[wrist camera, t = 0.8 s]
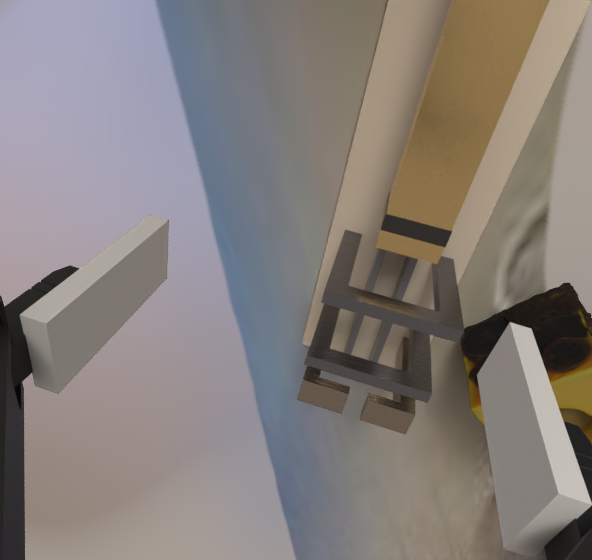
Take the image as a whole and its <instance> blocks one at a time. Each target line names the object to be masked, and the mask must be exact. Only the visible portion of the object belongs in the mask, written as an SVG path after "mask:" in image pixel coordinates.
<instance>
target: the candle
mask: <svg viewBox="0 0 592 560" xmlns="http://www.w3.org/2000/svg"><path fill="white" fill-rule="evenodd" d="M590 317H591V314H590V313H587V312H586V310H585V308H584V307H583V305H582V304H581V302H580V301H579V299H578V295H577V293H576V291H575V290H574V288H573V286H571V285H570V283H563V284H562V285H561V286H560V287H558V288H553V289H550V290H548V291H547V292H545V293H543V294H539V295H535V296H534V297H532V298H530V299H528V300H526V301H524V302H521V303H518V304H516V305H514V306H513V307H511V308H509V309H508V310H503V311H502V312H500V313H498V314H495V315H493V316H492V317H490V318H488V319H486V320H484V321H483V322H480V323H478V324H476V325H472V326H469V327H467V328H466V329H465V330H464V333H463V335H462V339H463V340H462V342H461V345H462V351H463V352H464V353H463V358H464V362H465V367H466V372H467V380H468V382H469V383H470V385H469V387H468V389H469V394H470V408H471V410H472V412H473V413H474V414H475V416H476V417H477V418H478V420H479V421H480V422H481V423H482V424H483V426H484V427H485V424H484V417H483V411H482V404H481V398H480V391H479V385H478V378H477V374H478V373H479V371H480V369H481V368H482V366H483V365H484V363H485V361H486V360H487V358H488V357H489V355H490V353H491V352H492V350H493V348H494V347H495V345H496V344H497V342H498V340H499V339H500V337H501V336H502V334H503V332H504V331H505V329H506V328H507V326H508V324H509V323H510V322H511V323H514V324H518V325H521V326H524V327H528V328H531V329H532V332H533V335H534V338H535V340H536V343H537V346H538V349H539V352H540V355H541V358H542V361H543V364H544V366H545V369H546V372H547V375H548V378H549V381H550V384H551V387H552V390H553V393H554V395H555V398H556V401H557V404H558V407H559V410H560V413H561V416H562V419H563V421H565V422H569V423H572V424H575V425H578V426H579V427H580V429H581V430H582V431H583V432H584V434H585V435H586V436H587V438H588V439H589V440H590V442H591V444H592V318H590Z"/></svg>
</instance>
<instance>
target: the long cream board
mask: <svg viewBox="0 0 592 560" xmlns="http://www.w3.org/2000/svg"><path fill="white" fill-rule="evenodd" d="M450 2H451V0H388V4H387V8H386V12H385V16H384V20H383V24H382V28H381V32H380V36H379V40H378V44H377V48H376V52H375V55H374V59H373V63H372V67H371V71H370V75H369V79H368V83H367V87H366V91H365V95H364V99H363V103H362V107H361V111H360V115H359V119H358V123H357V127H356V131H355V135H354V139H353V143H352V147H351V150H350V154H349V158H348V162H347V166H346V170H345V174H344V178H343V182H342V186H341V190H340V194H339V198H338V202H337V206H336V210H335V214H334V218H333V222H332V226H331V230H330V234H329V238H328V242H327V245H326V249H325V253H324V257H323V261H322V265H321V269H320V273H319V277H318V281H317V285H316V289H315V293H314V297H313V301H312V305H311V309H310V313H309V317H308V321H307V325H306V329H305V333H304V337H303V341H302V344H303V345H306V346H309V347H310V345H311V342H312V339H313V336H314V333H315V330H316V326H317V323H318V320H319V317H320V314H321V311H322V308H323V305H324V303H321V301H322V297H323V293H324V290H325V287H326V284H327V281H328V278H329V275H330V273H331V270H332V267H333V264H334V261H335V258H336V255H337V252H338V249H339V246H340V244H341V241H342V238H343V235H344V232H345V230H349V231H352V232H356V233H360V234H362V236H361V240H360V244H359V248H358V252H357V255H356V259H355V263H354V267H353V271H352V275H351V279H350V282H349V286H352V287H355V288H359V289H362V290H366V291H369V292H372V293H376V294H379V295H383V296H386V297H390V298H393V299H397V300H400V301H404V302H407V303H411V304H414V305H418V306H421V307H425V308H428V309H432V310H434V292H433V274H432V263H430V262H427V261H423V260H420V259H416V258H412V257H409V256H405V255H401V254H398V253H394V252H391V251H387V250H383V249H380V248H376V241H377V236H378V231H379V225H380V221H381V218H382V215H383V212H384V207H385V203H386V200H387V197H388V194H389V192H390V190H391V187H392V184H393V180H394V177H395V174H396V171H397V168H398V165H399V162H400V159H401V155H402V152H403V149H404V146H405V143H406V140H407V137H408V134H409V130H410V127H411V124H412V121H413V118H414V115H415V112H416V109H417V105H418V102H419V99H420V96H421V93H422V90H423V87H424V84H425V80H426V77H427V74H428V71H429V68H430V65H431V62H432V59H433V55H434V52H435V49H436V46H437V43H438V40H439V37H440V33H441V30H442V27H443V24H444V21H445V18H446V15H447V12H448V8H449V5H450ZM591 2H592V0H550V1H549V3H548V5H547V8H546V10H545V12H544V15H543V17H542V19H541V22H540V24H539V26H538V29H537V31H536V33H535V36H534V38H533V41H532V43H531V45H530V48H529V50H528V52H527V55H526V57H525V59H524V62H523V64H522V66H521V69H520V71H519V73H518V76H517V78H516V81H515V83H514V85H513V88H512V90H511V92H510V95H509V97H508V99H507V102H506V104H505V106H504V109H503V111H502V113H501V116H500V118H499V121H498V123H497V125H496V128H495V130H494V132H493V135H492V137H491V139H490V142H489V144H488V146H487V149H486V151H485V154H484V156H483V158H482V161H481V163H480V165H479V168H478V170H477V172H476V175H475V177H474V179H473V182H472V184H471V186H470V189H469V191H468V194H467V196H466V198H465V201H464V203H463V205H462V208H461V210H460V212H459V215H458V217H457V219H456V222H455V224H454V226H453V229H452V234H451V236H450V238H449V241H448V243H447V245H446V248H444V250H443V252H442V255H441V256H444V257H447V258H451V259H454V266H455V273H456V279H457V286H458V284H459V282H460V280H461V278H462V275H463V273H464V271H465V269H466V267H467V265H468V263H469V261H470V258H471V256H472V254H473V252H474V250H475V248H476V246H477V244H478V241H479V239H480V237H481V235H482V233H483V231H484V229H485V227H486V225H487V222H488V220H489V218H490V216H491V214H492V212H493V210H494V208H495V205H496V203H497V201H498V199H499V197H500V195H501V193H502V191H503V188H504V186H505V184H506V182H507V180H508V178H509V176H510V174H511V171H512V169H513V167H514V165H515V163H516V161H517V159H518V157H519V154H520V152H521V150H522V148H523V146H524V144H525V142H526V140H527V137H528V135H529V133H530V131H531V129H532V127H533V125H534V123H535V120H536V118H537V116H538V114H539V112H540V110H541V108H542V106H543V103H544V101H545V99H546V97H547V95H548V93H549V91H550V89H551V87H552V84H553V82H554V80H555V78H556V76H557V74H558V72H559V70H560V67H561V65H562V63H563V61H564V59H565V57H566V55H567V53H568V50H569V48H570V46H571V44H572V42H573V40H574V38H575V36H576V33H577V31H578V29H579V27H580V25H581V23H582V21H583V19H584V16H585V14H586V12H587V10H588V8H589V6H590V4H591ZM403 337H407V338H409V328H406V327H403V326H399V325H396V324H392V323H389V322H386V321H382V320H379V319H375V318H372V317H369V316H365V315H362V314H358V313H355V312H351V311H348V310H345V309H341V308H340V312H339V315H338V319H337V323H336V327H335V330H334V334H333V338H332V342H331V345H330V349H333V350H337V351H340V352H343V353H346V354H350V355H353V356H356V357H360V358H363V359H366V360H369V361H373V362H376V363H379V364H383V365H386V366H389V367H392V368H395V361H396V353H397V351H398V349H399V346H400V344H401V341H402V339H403ZM433 337H434V336H433V335H430V343H431V341H432V339H433Z"/></svg>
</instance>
